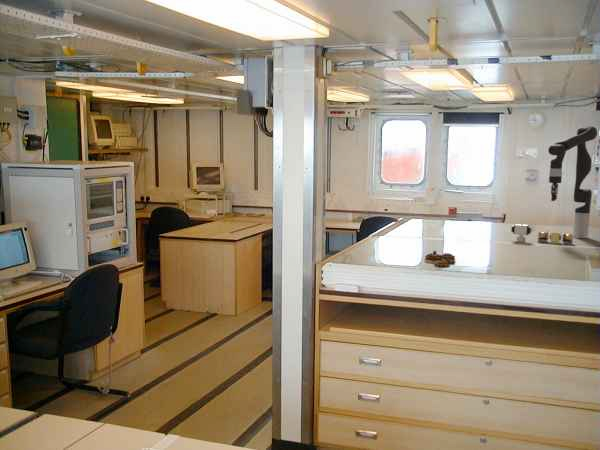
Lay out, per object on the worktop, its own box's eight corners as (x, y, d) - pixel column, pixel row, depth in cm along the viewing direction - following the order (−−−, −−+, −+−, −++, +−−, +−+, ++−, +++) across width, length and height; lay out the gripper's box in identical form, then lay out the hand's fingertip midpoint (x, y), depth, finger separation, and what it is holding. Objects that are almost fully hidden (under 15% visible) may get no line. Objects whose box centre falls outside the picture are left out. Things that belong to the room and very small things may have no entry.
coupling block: (561, 243, 394) (561, 232, 393) (560, 244, 390) (560, 233, 389) (550, 242, 397) (550, 231, 396) (549, 243, 393) (549, 232, 392)
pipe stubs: (539, 241, 401) (539, 230, 400) (572, 243, 391) (573, 232, 390) (537, 242, 396) (538, 231, 395) (571, 245, 386) (572, 233, 385)
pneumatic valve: (529, 242, 392) (530, 224, 391) (510, 241, 399) (511, 222, 397) (531, 241, 397) (532, 223, 395) (512, 240, 403) (513, 222, 402)
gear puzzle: (456, 269, 307) (456, 261, 307) (423, 267, 311) (423, 259, 310) (454, 258, 338) (454, 251, 337) (424, 256, 341) (425, 249, 340)
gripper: (560, 176, 389) (558, 201, 391) (562, 175, 401) (561, 199, 404) (547, 175, 392) (546, 201, 395) (550, 174, 405) (549, 198, 407)
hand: (553, 200), depth 399 cm, fingers open, 8 cm apart
